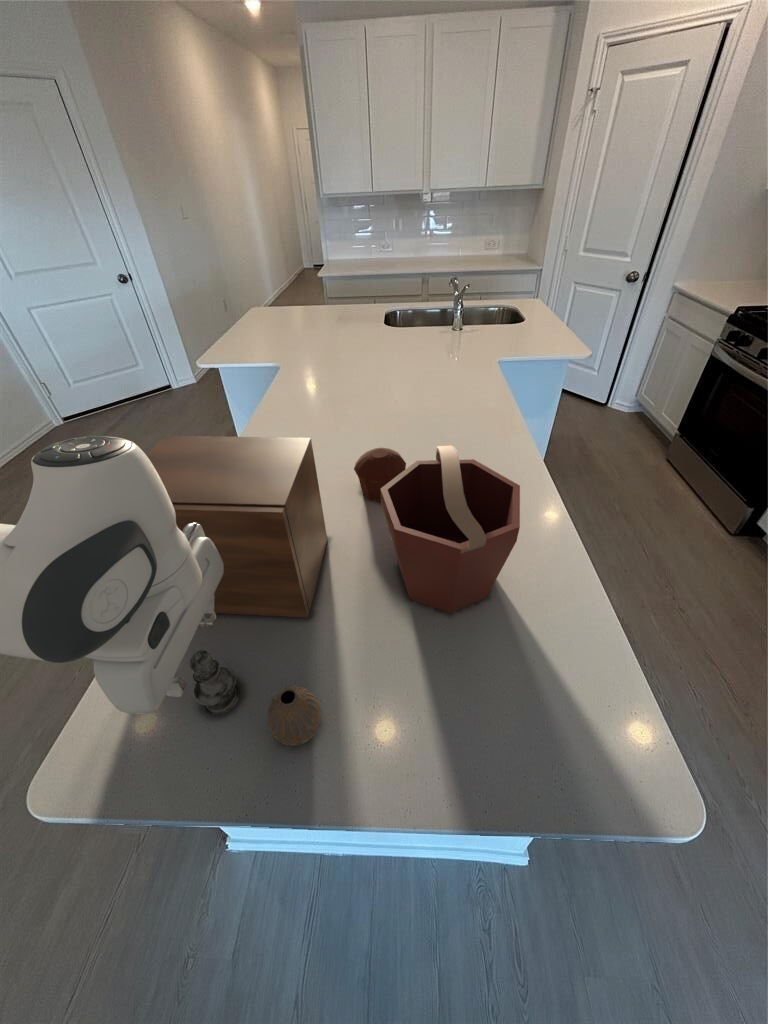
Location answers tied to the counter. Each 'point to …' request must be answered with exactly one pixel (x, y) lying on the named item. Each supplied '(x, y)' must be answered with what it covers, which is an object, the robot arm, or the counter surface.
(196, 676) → the grey stone turned figure
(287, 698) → the vase
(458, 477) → the bucket
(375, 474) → the muffin
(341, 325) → the counter surface
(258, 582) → the cupboard door
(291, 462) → the cupboard
